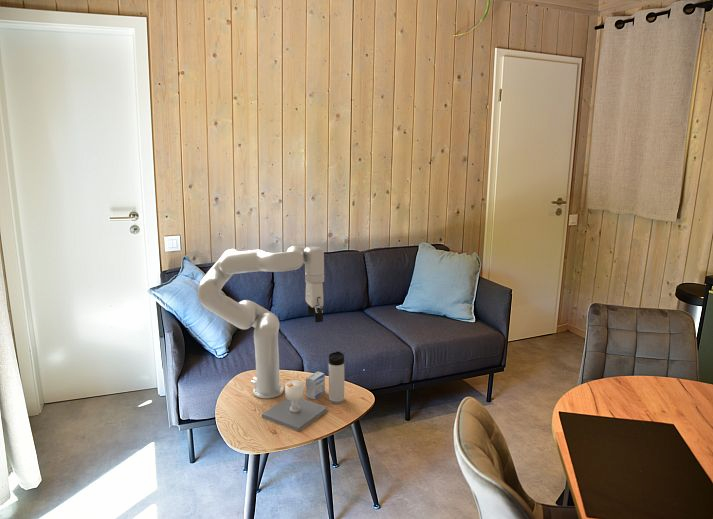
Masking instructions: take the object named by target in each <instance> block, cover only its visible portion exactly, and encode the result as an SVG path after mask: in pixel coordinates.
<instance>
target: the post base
mask: <svg viewBox="0 0 713 519" xmlns="http://www.w3.org/2000/svg"><path fill="white" fill-rule="evenodd" d="M328 410H329V409H328V406H326V405H325V406H324V405H322V404H319V403H316V402H314V401H311V400H308V399H305V398H302V399H300V400H296V401H292V400H288V399H286V398H285V399H283V400H282V401H280V402H278V403H277V404H275V405H274V406H272V407H271V408H269V409H267V410H266V411H264V412H262V413H261V418H262V419H265V420H268V421H270V422H273V423H275V424H277V425H281V426H283V427H285V428H287V429H288V428H289V429H290V430H293V431H296V432H300V431H302V430H303V429H304V428H306V427H307V426H309V425H310V424H311V423H313V422H315V420H317V419H318V418H320V417H321V416H323V415H324V414H326V413H327V412H328Z"/></svg>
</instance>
